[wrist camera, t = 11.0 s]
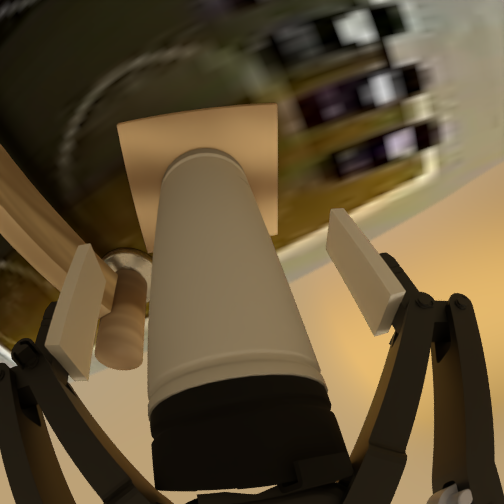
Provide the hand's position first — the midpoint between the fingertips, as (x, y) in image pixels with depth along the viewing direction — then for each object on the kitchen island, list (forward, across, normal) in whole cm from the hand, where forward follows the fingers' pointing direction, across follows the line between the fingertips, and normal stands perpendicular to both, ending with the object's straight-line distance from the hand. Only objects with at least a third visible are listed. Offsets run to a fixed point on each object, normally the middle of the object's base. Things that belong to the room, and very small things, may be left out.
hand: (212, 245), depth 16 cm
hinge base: (+8, -8, -8) cm, 14 cm away
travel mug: (+8, 0, 0) cm, 8 cm away
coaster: (+8, 0, 0) cm, 8 cm away
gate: (+7, -13, +2) cm, 14 cm away
